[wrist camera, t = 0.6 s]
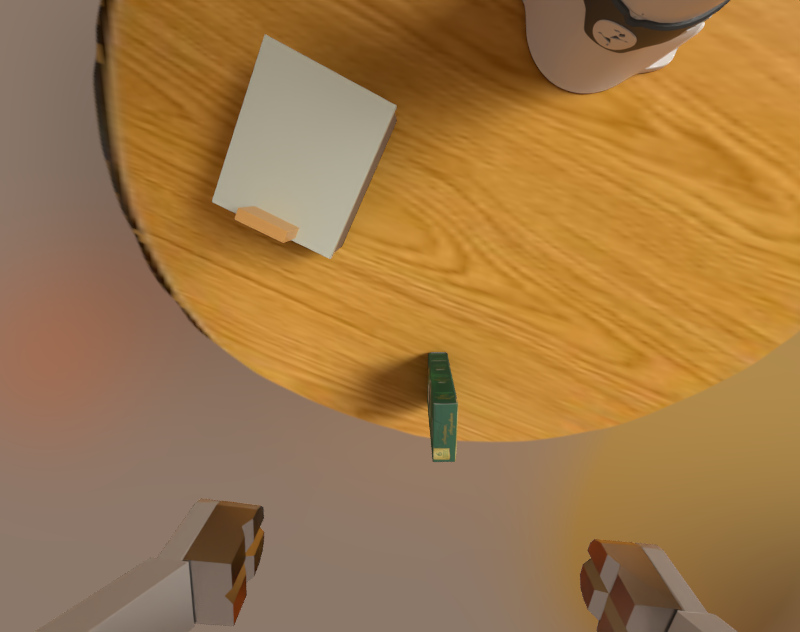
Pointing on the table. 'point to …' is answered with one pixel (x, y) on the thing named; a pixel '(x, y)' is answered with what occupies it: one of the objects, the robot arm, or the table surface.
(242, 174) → the lid
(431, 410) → the coffee box
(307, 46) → the table surface
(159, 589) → the robot arm
